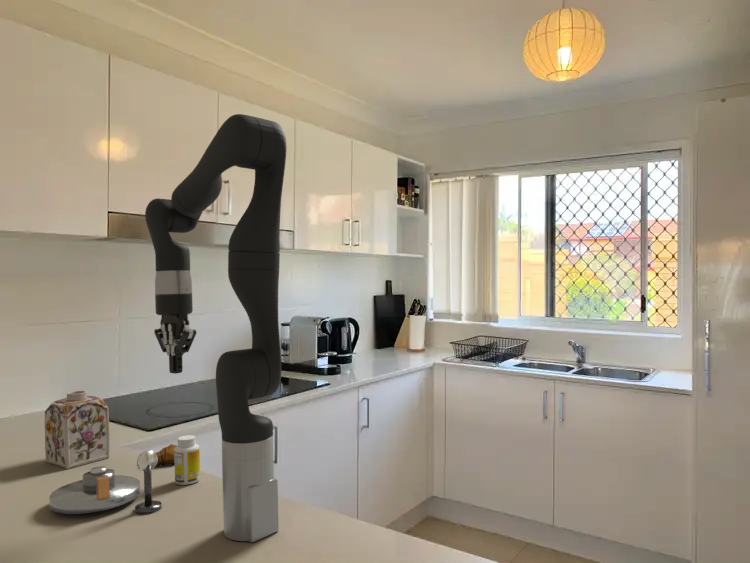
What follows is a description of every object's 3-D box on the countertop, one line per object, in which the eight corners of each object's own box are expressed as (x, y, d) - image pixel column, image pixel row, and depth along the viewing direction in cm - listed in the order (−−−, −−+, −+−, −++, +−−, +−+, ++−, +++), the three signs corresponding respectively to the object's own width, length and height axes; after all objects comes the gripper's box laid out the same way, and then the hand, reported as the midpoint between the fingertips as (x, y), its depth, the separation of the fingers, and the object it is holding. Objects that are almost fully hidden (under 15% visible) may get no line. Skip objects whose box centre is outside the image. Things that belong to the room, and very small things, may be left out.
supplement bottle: (202, 476, 134) (201, 433, 134) (197, 485, 129) (196, 440, 129) (178, 478, 134) (177, 434, 134) (172, 486, 128) (171, 441, 128)
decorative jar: (88, 451, 158) (87, 386, 158) (111, 457, 151) (110, 390, 152) (43, 462, 148) (42, 393, 149) (65, 470, 142) (64, 398, 142)
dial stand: (166, 508, 116) (165, 450, 116) (143, 516, 112) (141, 456, 112) (153, 502, 119) (152, 446, 119) (130, 510, 115) (129, 451, 115)
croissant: (194, 455, 153) (194, 437, 153) (201, 462, 147) (201, 442, 147) (141, 465, 146) (140, 445, 146) (146, 472, 140) (145, 451, 140)
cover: (111, 481, 124) (110, 462, 124) (117, 489, 119) (117, 468, 119) (80, 488, 120) (80, 468, 120) (86, 496, 115) (85, 475, 115)
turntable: (128, 477, 131) (127, 452, 131) (150, 499, 118) (149, 471, 118) (43, 496, 121) (43, 468, 121) (56, 521, 107) (56, 490, 107)
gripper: (207, 291, 121) (209, 372, 121) (172, 292, 129) (174, 368, 129) (175, 292, 115) (177, 377, 115) (141, 293, 123) (143, 373, 123)
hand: (175, 372), depth 122 cm, fingers closed
